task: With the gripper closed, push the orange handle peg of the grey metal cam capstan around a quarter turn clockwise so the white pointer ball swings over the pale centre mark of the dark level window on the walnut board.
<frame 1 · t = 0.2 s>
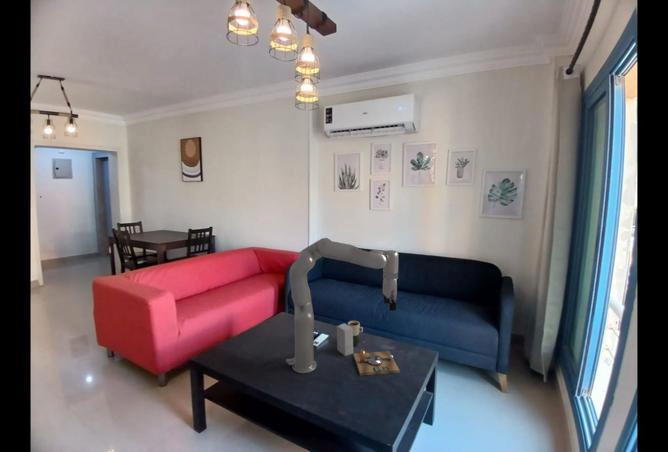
hand: (389, 306, 163), 30 cm above the table, fingers open, 9 cm apart
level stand: (375, 364, 165), on the table
character mug: (353, 344, 185), on the table
skincare box: (344, 352, 177), on the table
cam capstan: (376, 355, 164), point 5 cm above the table, hinge at 0.0°
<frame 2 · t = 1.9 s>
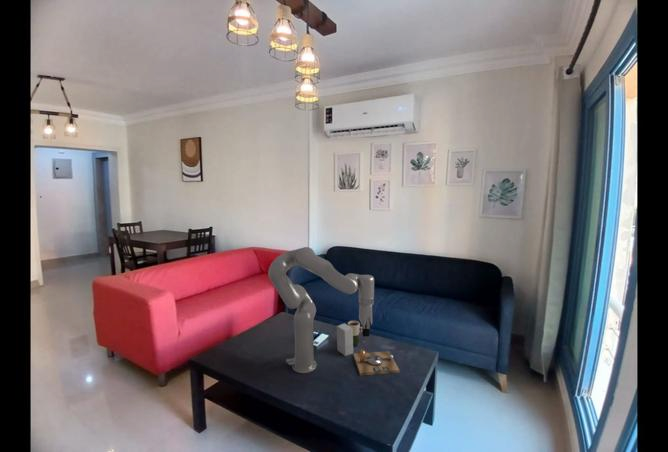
hand: (365, 335, 156), 19 cm above the table, fingers closed
nothing on the table moved.
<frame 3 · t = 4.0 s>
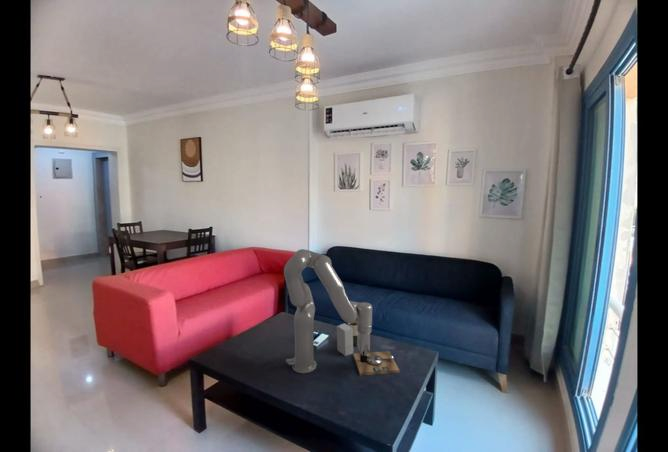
hand: (363, 361, 160), 4 cm above the table, fingers closed
cam capstan: (376, 355, 164), point 5 cm above the table, hinge at -6.7°, touching gripper
everything else where it was.
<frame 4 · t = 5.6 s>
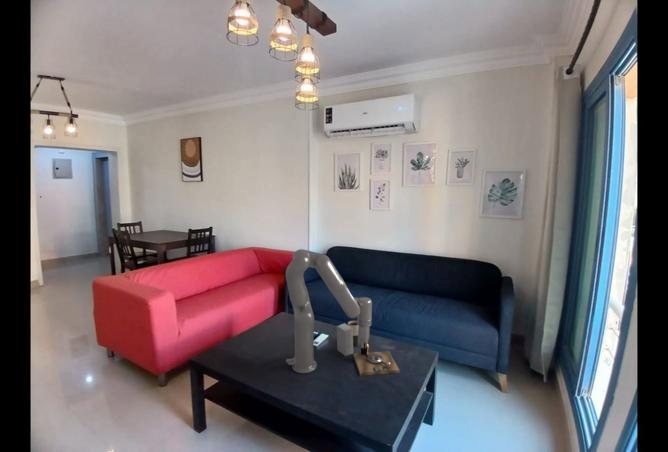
hand: (364, 354, 167), 4 cm above the table, fingers closed
cam capstan: (377, 355, 164), point 5 cm above the table, hinge at -57.0°, touching gripper
everything else where it was.
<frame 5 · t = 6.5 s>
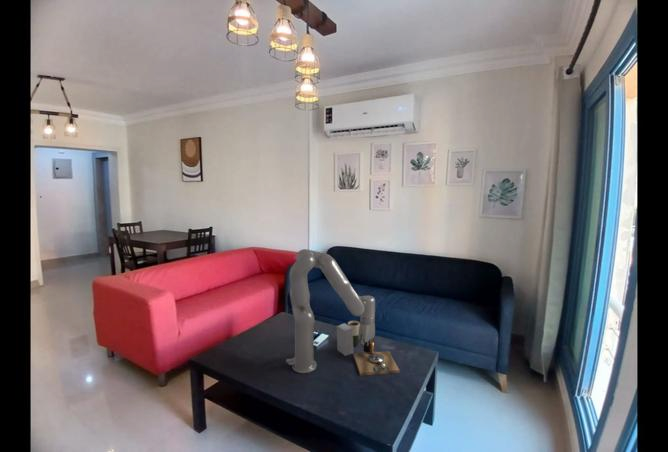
hand: (366, 351, 169), 4 cm above the table, fingers closed
cam capstan: (377, 354, 164), point 5 cm above the table, hinge at -82.3°, touching gripper
everything else where it was.
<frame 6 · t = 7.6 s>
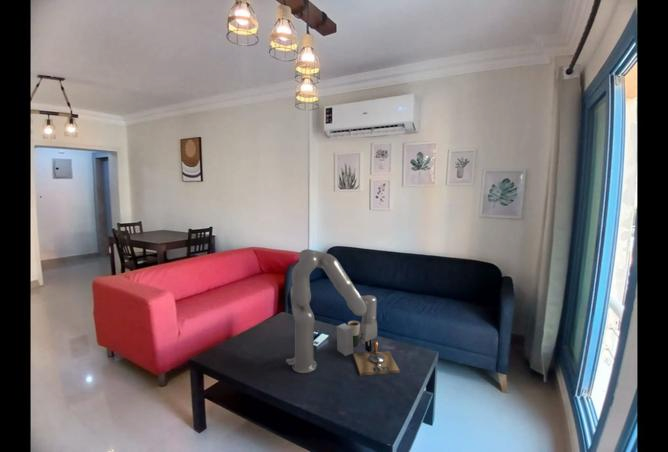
hand: (368, 350, 171), 4 cm above the table, fingers closed
cam capstan: (377, 354, 164), point 5 cm above the table, hinge at -98.2°
everything else where it was.
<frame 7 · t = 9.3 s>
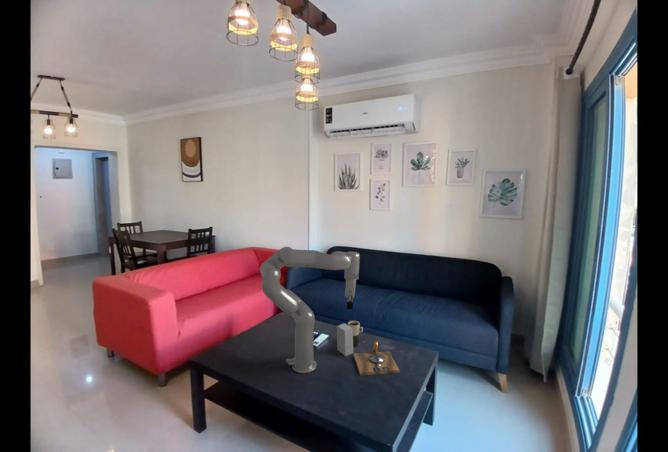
hand: (349, 308, 168), 28 cm above the table, fingers closed
nothing on the table moved.
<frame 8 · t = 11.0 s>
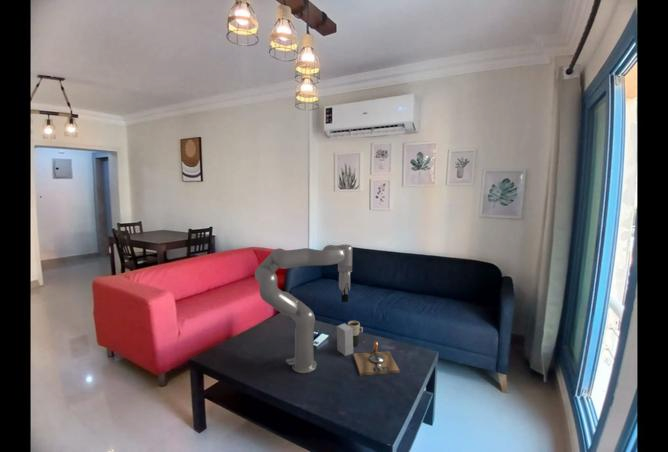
hand: (344, 301, 169), 31 cm above the table, fingers closed
nothing on the table moved.
at the end: cam capstan at -98° (first picture: +0°) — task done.
